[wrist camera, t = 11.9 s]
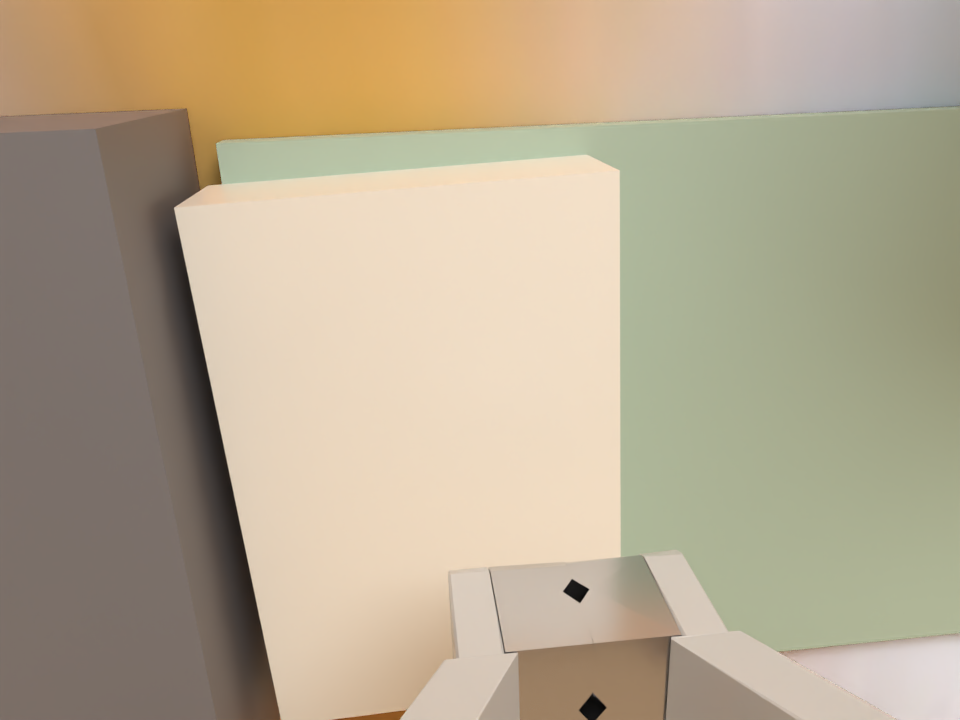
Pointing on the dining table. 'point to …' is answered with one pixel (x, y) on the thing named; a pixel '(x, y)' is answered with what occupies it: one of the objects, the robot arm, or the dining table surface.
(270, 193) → the card
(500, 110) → the dining table surface
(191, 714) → the block
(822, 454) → the mat
